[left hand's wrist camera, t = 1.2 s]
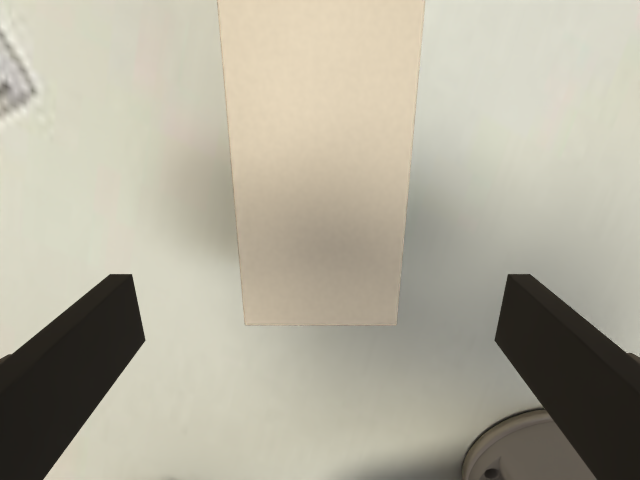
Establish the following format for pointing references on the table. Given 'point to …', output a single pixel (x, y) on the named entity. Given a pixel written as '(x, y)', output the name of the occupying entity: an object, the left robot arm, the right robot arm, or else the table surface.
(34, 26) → the table surface
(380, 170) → the long beige bar
